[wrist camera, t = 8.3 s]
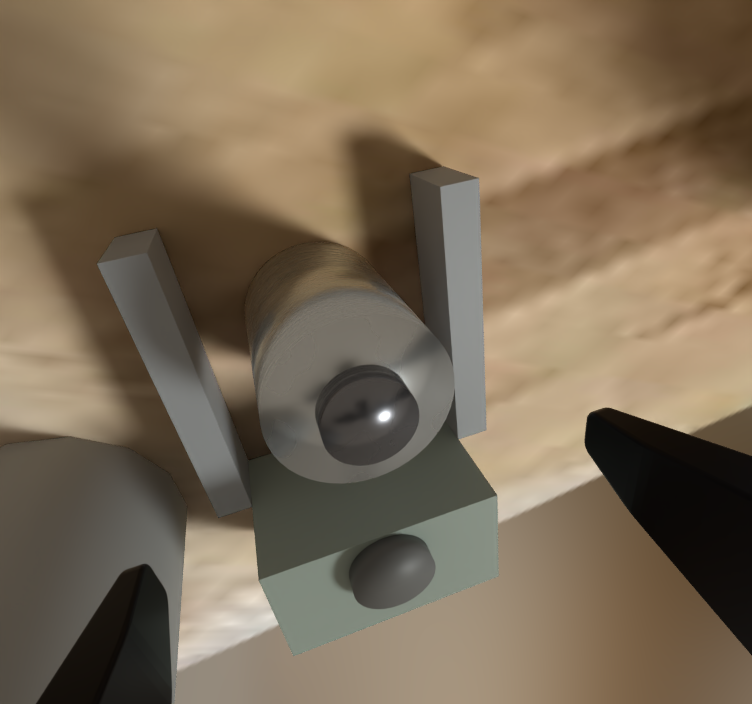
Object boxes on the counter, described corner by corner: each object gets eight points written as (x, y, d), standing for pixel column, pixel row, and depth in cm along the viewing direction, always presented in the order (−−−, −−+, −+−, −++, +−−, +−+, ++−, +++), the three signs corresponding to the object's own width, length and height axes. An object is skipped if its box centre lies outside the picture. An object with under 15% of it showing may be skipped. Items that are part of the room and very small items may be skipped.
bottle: (392, 351, 18) (472, 467, 13) (266, 387, 18) (292, 530, 12) (373, 226, 16) (464, 303, 10) (224, 262, 15) (233, 367, 9)
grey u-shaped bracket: (443, 166, 16) (554, 203, 10) (463, 469, 23) (535, 578, 18) (114, 237, 14) (55, 324, 9) (250, 542, 21) (261, 687, 16)
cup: (-133, 543, 16) (-519, 1043, 8) (45, 394, 15) (-158, 759, 7) (86, 624, 21) (-2, 991, 12) (230, 512, 20) (242, 818, 12)
